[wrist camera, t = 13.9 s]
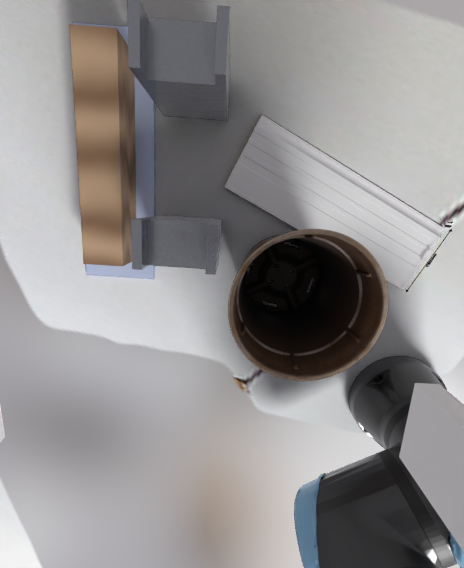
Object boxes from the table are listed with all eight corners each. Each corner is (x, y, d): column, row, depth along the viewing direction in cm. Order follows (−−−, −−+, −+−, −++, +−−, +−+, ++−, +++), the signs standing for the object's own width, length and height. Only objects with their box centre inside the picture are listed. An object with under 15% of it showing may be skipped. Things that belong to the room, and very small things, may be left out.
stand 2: (219, 253, 45) (215, 274, 31) (162, 249, 45) (132, 269, 31) (221, 219, 44) (217, 225, 30) (163, 215, 43) (131, 219, 29)
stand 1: (227, 120, 40) (225, 74, 26) (164, 115, 40) (128, 67, 26) (229, 78, 39) (229, 6, 25) (164, 73, 39) (127, -2, 25)
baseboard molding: (266, 106, 41) (224, 187, 43) (269, 98, 38) (223, 186, 40) (447, 219, 44) (398, 288, 47) (461, 220, 42) (408, 293, 44)
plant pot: (347, 230, 44) (410, 242, 29) (322, 330, 48) (366, 390, 33) (237, 212, 43) (241, 216, 28) (221, 316, 47) (217, 370, 32)
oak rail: (136, 258, 44) (122, 266, 39) (102, 256, 44) (83, 263, 38) (134, 55, 38) (116, 28, 32) (94, 52, 38) (69, 24, 32)
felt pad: (154, 278, 46) (153, 279, 45) (88, 274, 46) (86, 275, 45) (154, 31, 38) (153, 28, 37) (74, 25, 38) (72, 22, 37)
